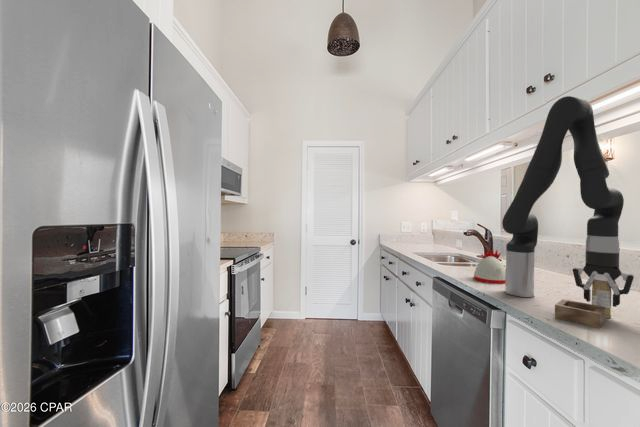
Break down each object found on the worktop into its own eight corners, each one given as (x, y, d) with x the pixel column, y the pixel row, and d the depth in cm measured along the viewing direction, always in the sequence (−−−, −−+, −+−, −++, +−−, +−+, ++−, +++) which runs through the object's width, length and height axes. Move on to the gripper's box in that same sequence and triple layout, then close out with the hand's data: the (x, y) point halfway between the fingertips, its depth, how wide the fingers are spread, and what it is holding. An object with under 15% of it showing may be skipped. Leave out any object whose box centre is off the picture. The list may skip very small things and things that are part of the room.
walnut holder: (554, 317, 86) (555, 304, 86) (562, 311, 93) (563, 298, 93) (600, 328, 79) (600, 314, 79) (605, 320, 85) (605, 307, 85)
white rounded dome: (511, 285, 127) (512, 252, 127) (477, 282, 131) (478, 250, 131) (502, 278, 140) (502, 248, 140) (471, 276, 144) (471, 247, 144)
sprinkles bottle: (591, 312, 92) (591, 271, 92) (611, 315, 89) (611, 273, 89) (591, 315, 88) (591, 273, 88) (612, 319, 85) (612, 275, 85)
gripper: (569, 248, 92) (568, 300, 92) (634, 254, 81) (634, 312, 81) (574, 247, 96) (573, 296, 96) (637, 252, 85) (636, 307, 85)
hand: (601, 303), depth 88 cm, fingers open, 5 cm apart
